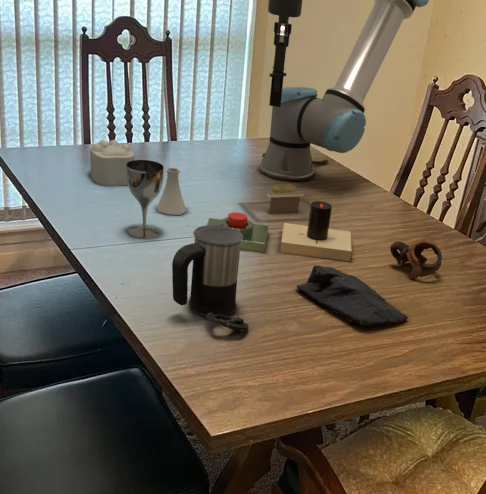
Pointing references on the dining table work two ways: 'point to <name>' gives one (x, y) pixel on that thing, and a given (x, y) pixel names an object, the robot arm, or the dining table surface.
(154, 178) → the wine glass
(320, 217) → the dial
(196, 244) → the milk frother
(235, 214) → the button
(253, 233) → the button housing
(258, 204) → the platform
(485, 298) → the dining table surface
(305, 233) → the timer panel
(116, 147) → the lumpy-topped squat cylinder
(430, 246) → the coiled brown leather belt
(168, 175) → the flask
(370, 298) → the black cloth
